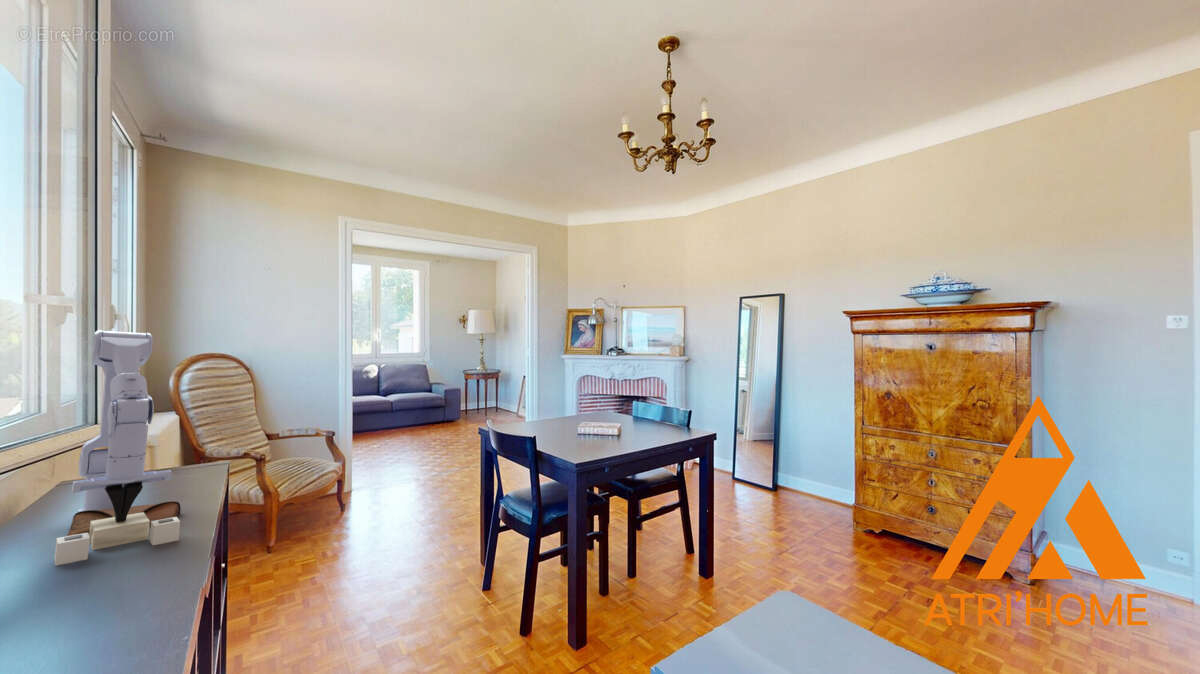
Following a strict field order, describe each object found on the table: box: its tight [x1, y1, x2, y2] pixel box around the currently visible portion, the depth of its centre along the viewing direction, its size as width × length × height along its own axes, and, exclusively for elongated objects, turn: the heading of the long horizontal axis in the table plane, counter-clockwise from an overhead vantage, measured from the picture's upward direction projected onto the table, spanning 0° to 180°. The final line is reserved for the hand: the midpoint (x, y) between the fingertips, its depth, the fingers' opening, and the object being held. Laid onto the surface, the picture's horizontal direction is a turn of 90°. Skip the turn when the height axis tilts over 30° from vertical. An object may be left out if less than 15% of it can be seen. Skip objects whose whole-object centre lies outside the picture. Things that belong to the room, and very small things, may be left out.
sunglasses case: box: [66, 500, 181, 536], centre depth 105 cm, size 18×7×7 cm
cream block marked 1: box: [53, 533, 90, 567], centre depth 88 cm, size 4×4×4 cm
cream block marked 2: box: [149, 517, 181, 546], centre depth 98 cm, size 4×4×4 cm
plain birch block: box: [89, 512, 150, 551], centre depth 97 cm, size 8×8×4 cm
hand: (120, 520), depth 97 cm, fingers closed
